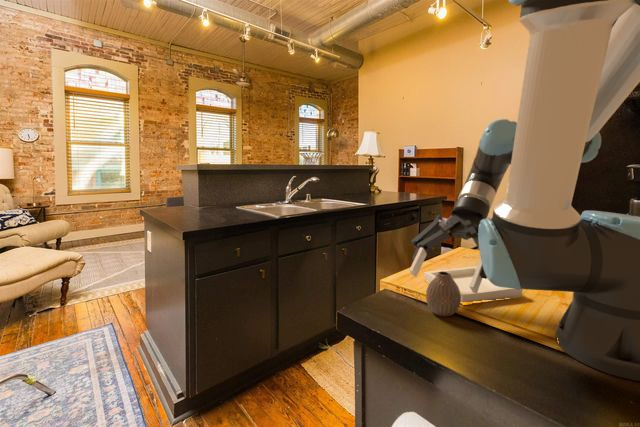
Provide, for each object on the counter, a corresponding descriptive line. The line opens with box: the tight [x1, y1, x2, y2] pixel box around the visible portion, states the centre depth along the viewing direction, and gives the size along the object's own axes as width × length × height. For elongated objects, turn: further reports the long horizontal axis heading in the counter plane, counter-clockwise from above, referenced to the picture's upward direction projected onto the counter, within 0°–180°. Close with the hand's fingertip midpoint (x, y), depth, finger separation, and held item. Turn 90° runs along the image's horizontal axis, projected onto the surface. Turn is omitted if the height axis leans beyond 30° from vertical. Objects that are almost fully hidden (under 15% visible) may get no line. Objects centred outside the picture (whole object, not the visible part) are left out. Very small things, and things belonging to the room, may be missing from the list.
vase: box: [425, 271, 461, 317], centre depth 69 cm, size 7×7×9 cm
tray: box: [423, 265, 524, 302], centre depth 81 cm, size 16×16×2 cm
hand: (440, 281), depth 69 cm, fingers open, 13 cm apart
